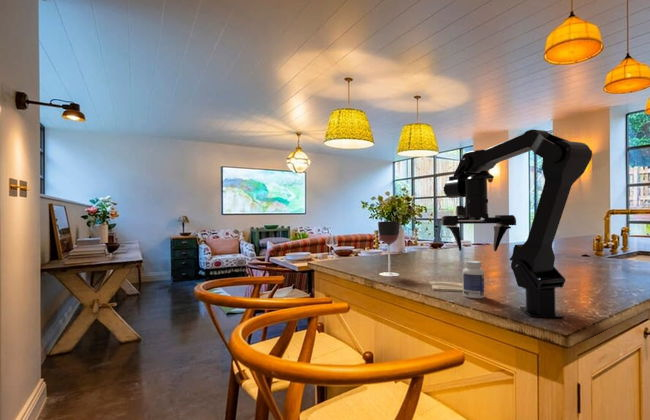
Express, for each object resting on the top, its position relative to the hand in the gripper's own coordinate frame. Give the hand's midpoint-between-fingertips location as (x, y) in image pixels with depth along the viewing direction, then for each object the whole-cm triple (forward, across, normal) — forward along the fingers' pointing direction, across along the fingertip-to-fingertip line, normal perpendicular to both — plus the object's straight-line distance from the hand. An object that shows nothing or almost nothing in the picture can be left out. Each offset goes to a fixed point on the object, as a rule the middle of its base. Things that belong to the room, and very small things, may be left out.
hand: (477, 250), depth 91 cm
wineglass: (+12, +26, -26) cm, 39 cm away
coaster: (+12, +7, -8) cm, 16 cm away
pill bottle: (+13, +2, +2) cm, 13 cm away
